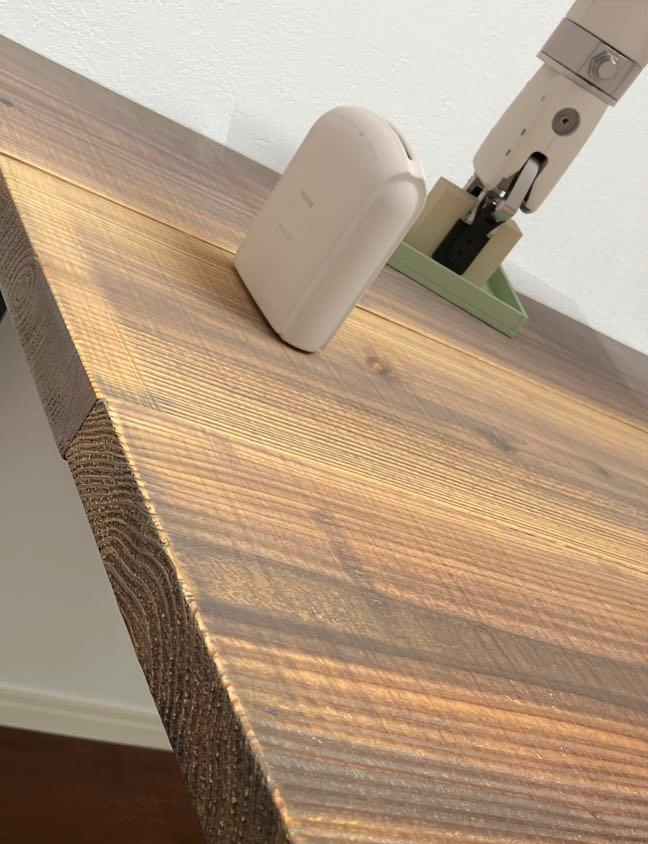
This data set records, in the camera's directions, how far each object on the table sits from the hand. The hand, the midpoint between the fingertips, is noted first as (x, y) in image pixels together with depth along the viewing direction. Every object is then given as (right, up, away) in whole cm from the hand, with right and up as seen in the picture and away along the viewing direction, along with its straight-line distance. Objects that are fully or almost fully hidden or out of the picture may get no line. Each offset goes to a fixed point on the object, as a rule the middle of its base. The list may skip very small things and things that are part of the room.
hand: (443, 256), depth 93 cm
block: (0, -1, 0) cm, 1 cm away
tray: (-1, -1, +1) cm, 1 cm away
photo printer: (-20, -11, -28) cm, 36 cm away
